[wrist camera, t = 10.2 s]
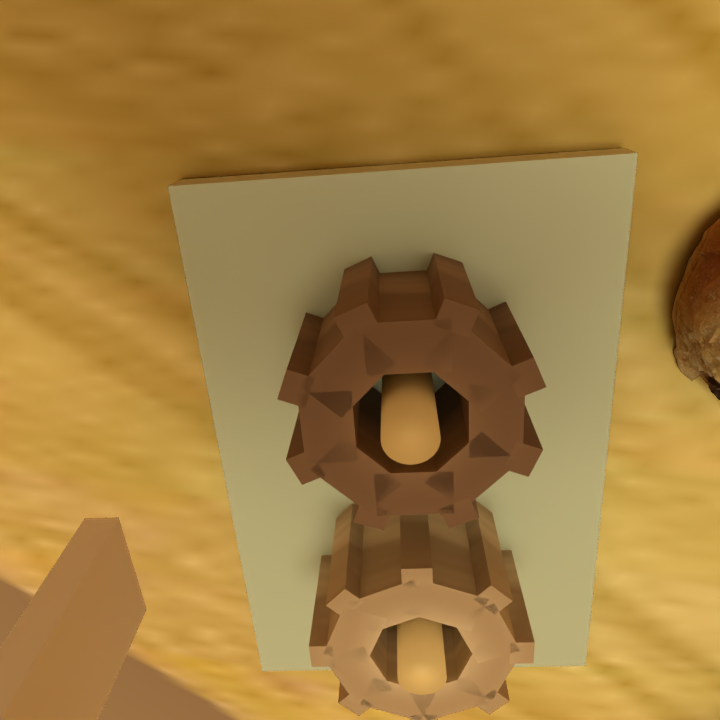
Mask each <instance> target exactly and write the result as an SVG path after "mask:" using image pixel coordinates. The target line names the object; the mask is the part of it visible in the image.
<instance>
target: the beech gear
mask: <svg viewBox="0 0 720 720" xmlns="http://www.w3.org/2000/svg"><path fill="white" fill-rule="evenodd" d="M476 504H477V509H478V514H479V518H477V519H474V520H472V521H469V522H466V523H463V524H461V525H458V526H455V527H452V528H448V526H447V524H446V522H445V520H444V518H443V517H442V515H441V514H418V515H390V517H389V519H388V522H387V524H386V526H385V528H384V531H383V530H380V529H376V528H373V527H369V526H366V525H363V524H359V523H356V522H353V516H354V504H353V503H352V504H351V505H350V506H349V507H348V508H347V509H345V510H344V511H343V512H342V513H341V514H340V515H339V516H338V517H337V518H336V524H335V532H334V541H333V549H332V555H322V556H321V563H320V570H319V577H318V584H317V591H316V598H315V605H314V612H313V620H312V627H311V634H310V641H309V652H310V659H311V665H312V667H330V668H331V670H332V671H333V672H334V674H335V675H336V677H337V678H338V679H339V681H340V689H339V701H338V703H339V704H341V705H342V706H344V707H345V708H347V709H349V710H350V711H352V712H353V713H355V714H357V715H358V716H360V715H361V714H362V713H364V712H365V711H366V710H368V709H369V708H373V709H377V710H381V711H385V712H389V713H392V714H396V715H400V716H404V717H407V718H410V720H438V718H439V717H443V716H446V715H449V714H453V713H456V712H460V711H463V710H467V709H470V708H473V707H479V708H480V709H482V710H483V711H485V712H486V713H488V714H489V715H490V714H491V713H493V712H494V711H495V710H497V709H498V708H500V707H501V706H503V705H504V704H506V703H507V702H509V695H508V690H507V685H506V680H505V679H506V678H507V676H508V674H509V673H510V671H511V670H512V668H513V666H514V665H515V664H524V663H534V648H535V641H534V637H533V633H532V629H531V625H530V622H529V618H528V614H527V610H526V606H525V602H524V598H523V594H522V590H521V586H520V582H519V578H518V574H517V570H516V566H515V562H514V558H513V554H512V550H501V548H500V543H499V539H498V535H497V531H496V526H495V522H494V518H493V513H492V512H490V511H489V510H488V509H487V508H485V507H484V506H483V505H481V504H480V503H479V502H478V501H476ZM418 617H421V618H424V619H428V620H431V621H435V622H439V623H442V632H443V643H444V653H445V664H446V675H447V680H446V683H445V685H444V686H443V687H442V688H441V689H440V690H439V691H437V692H435V693H432V694H427V695H418V694H413V693H410V692H408V691H406V690H405V689H403V688H402V687H401V686H400V684H399V682H398V678H397V624H400V623H403V622H406V621H409V620H412V619H415V618H418Z"/></svg>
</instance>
